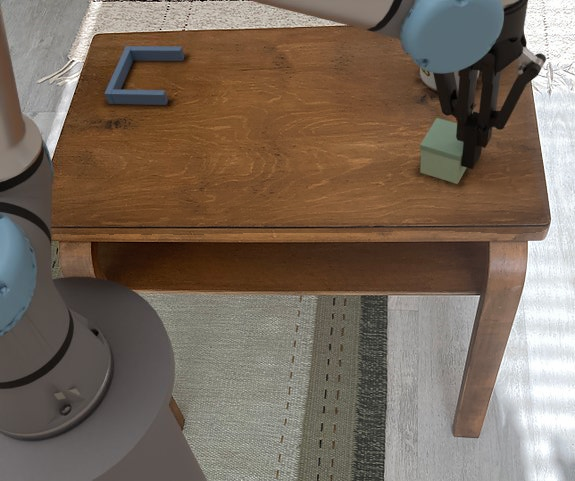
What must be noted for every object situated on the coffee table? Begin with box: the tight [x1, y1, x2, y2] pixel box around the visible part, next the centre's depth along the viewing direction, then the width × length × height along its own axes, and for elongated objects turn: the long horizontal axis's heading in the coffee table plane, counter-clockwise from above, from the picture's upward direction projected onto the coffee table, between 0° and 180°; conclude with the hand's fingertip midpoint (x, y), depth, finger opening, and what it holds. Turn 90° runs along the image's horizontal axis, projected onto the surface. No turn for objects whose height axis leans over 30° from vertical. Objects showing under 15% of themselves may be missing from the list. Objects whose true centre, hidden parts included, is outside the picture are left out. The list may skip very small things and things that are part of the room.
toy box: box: [419, 117, 467, 185], centre depth 93 cm, size 5×5×5 cm
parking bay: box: [104, 45, 185, 106], centre depth 112 cm, size 9×11×2 cm
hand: (471, 160), depth 91 cm, fingers closed
